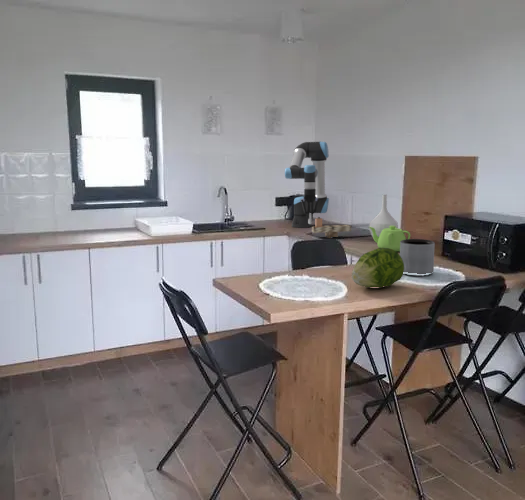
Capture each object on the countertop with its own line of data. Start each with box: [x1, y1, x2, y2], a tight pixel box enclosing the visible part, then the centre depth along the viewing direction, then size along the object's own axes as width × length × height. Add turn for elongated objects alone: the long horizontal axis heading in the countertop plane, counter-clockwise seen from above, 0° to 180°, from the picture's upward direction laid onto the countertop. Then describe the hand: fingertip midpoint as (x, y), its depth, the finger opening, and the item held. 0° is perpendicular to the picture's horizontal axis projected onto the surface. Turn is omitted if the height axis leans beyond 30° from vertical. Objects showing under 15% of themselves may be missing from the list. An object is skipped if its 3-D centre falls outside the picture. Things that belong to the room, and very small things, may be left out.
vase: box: [368, 194, 399, 238], centre depth 336 cm, size 18×18×30 cm
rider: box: [314, 216, 323, 227], centre depth 351 cm, size 4×3×8 cm
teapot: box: [368, 226, 411, 253], centre depth 307 cm, size 19×20×14 cm
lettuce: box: [351, 247, 404, 288], centre depth 225 cm, size 17×23×17 cm
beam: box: [311, 224, 352, 239], centre depth 354 cm, size 26×8×8 cm, turn 101°
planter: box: [399, 238, 436, 274], centre depth 249 cm, size 16×16×16 cm
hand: (309, 223), depth 350 cm, fingers closed
